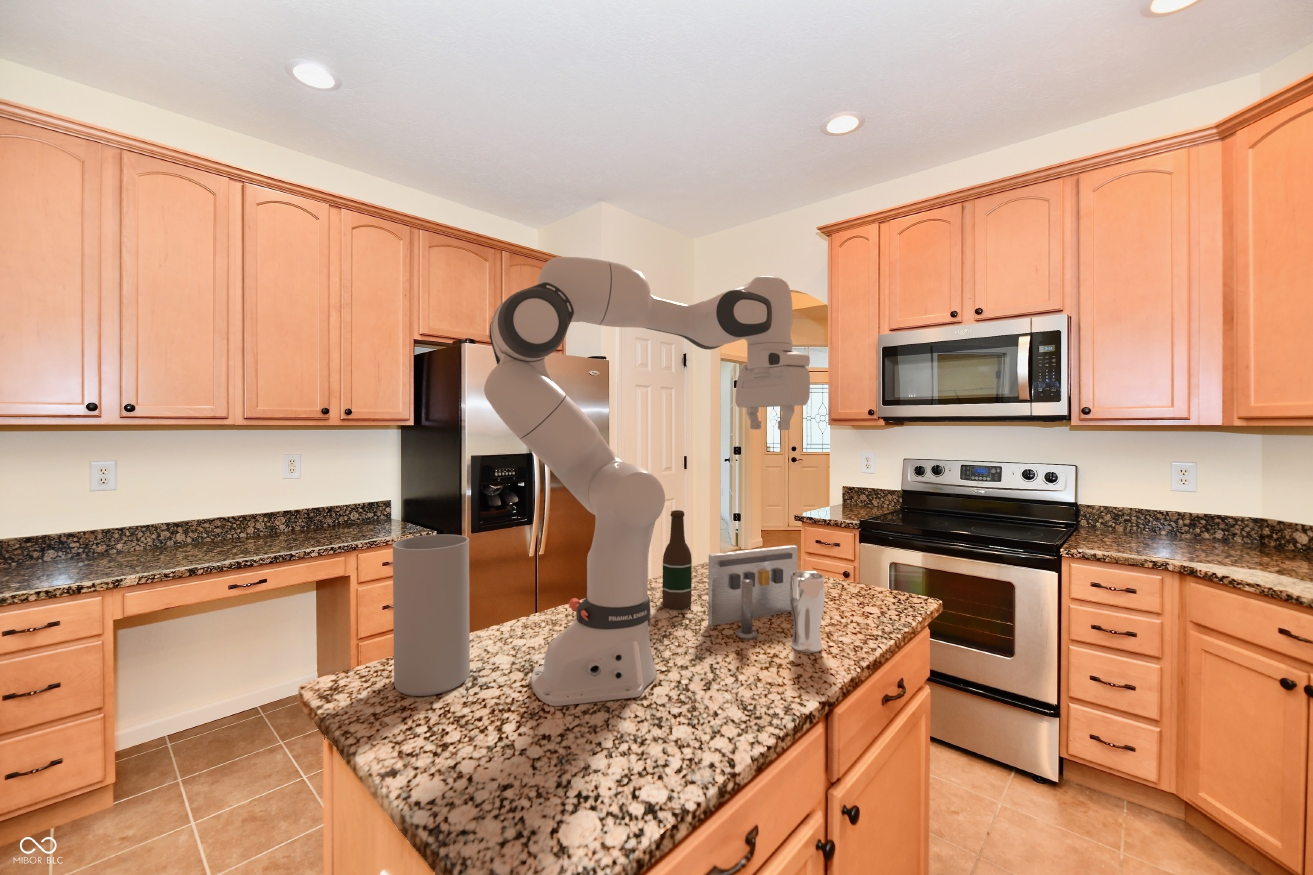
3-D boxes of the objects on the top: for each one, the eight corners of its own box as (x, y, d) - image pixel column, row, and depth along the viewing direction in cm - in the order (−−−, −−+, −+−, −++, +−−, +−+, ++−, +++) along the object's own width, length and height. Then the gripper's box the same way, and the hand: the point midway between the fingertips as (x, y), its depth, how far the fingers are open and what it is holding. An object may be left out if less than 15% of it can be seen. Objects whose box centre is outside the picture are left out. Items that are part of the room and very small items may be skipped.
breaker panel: (713, 627, 124) (714, 556, 124) (708, 623, 127) (708, 554, 126) (799, 612, 134) (800, 547, 134) (792, 609, 136) (793, 545, 136)
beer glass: (810, 657, 109) (811, 581, 108) (782, 645, 114) (782, 574, 113) (830, 647, 113) (831, 575, 113) (802, 637, 118) (803, 568, 118)
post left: (743, 640, 116) (744, 584, 116) (732, 633, 120) (732, 579, 120) (761, 637, 118) (761, 582, 118) (749, 630, 122) (749, 577, 122)
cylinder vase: (484, 675, 100) (483, 539, 99) (422, 705, 89) (421, 553, 89) (441, 659, 107) (440, 531, 106) (379, 685, 96) (377, 543, 96)
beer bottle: (657, 601, 142) (658, 509, 141) (686, 599, 144) (686, 507, 143) (667, 611, 134) (667, 514, 134) (697, 608, 137) (697, 512, 136)
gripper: (728, 364, 118) (728, 429, 118) (788, 354, 99) (788, 430, 100) (752, 366, 121) (752, 429, 121) (816, 355, 102) (815, 430, 102)
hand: (769, 429), depth 110 cm, fingers open, 8 cm apart
